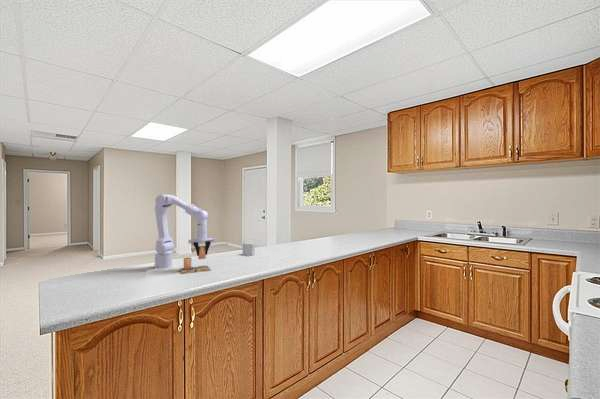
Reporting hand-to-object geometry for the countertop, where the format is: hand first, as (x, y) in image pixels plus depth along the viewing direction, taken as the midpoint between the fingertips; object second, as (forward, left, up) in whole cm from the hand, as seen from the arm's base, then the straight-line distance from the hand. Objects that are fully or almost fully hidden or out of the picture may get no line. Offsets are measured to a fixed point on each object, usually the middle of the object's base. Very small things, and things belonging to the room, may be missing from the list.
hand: (202, 255), depth 164 cm
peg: (-8, -1, -8) cm, 11 cm away
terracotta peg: (0, 0, -2) cm, 2 cm away
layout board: (-4, -1, -9) cm, 10 cm away
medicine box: (+36, +29, -9) cm, 47 cm away
